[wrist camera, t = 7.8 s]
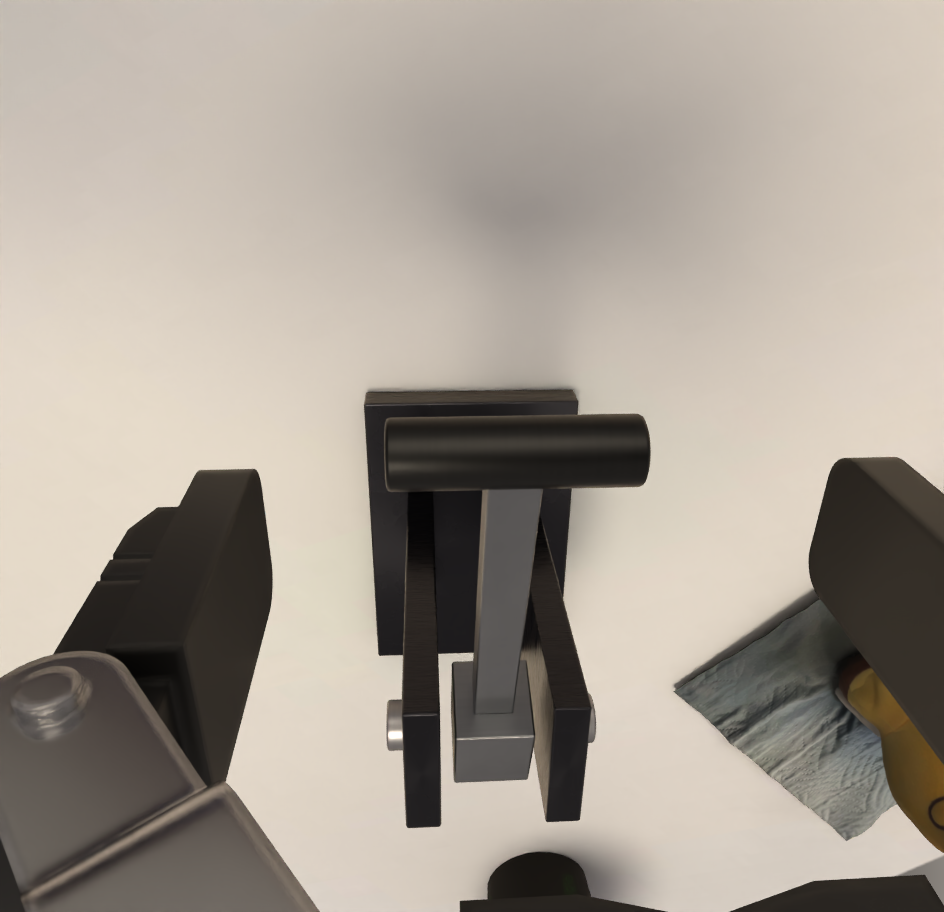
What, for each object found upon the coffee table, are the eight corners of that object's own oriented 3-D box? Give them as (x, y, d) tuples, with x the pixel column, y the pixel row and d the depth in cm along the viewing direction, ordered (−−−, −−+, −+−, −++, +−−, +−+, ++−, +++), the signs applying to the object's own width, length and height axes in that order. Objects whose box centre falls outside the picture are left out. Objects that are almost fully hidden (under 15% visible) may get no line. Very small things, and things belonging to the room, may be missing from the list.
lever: (385, 386, 15) (382, 473, 14) (635, 383, 16) (662, 467, 14) (406, 709, 24) (406, 785, 23) (563, 703, 25) (574, 778, 23)
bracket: (365, 391, 30) (332, 597, 18) (573, 388, 30) (666, 588, 19) (379, 638, 35) (360, 915, 24) (555, 632, 36) (619, 902, 24)
